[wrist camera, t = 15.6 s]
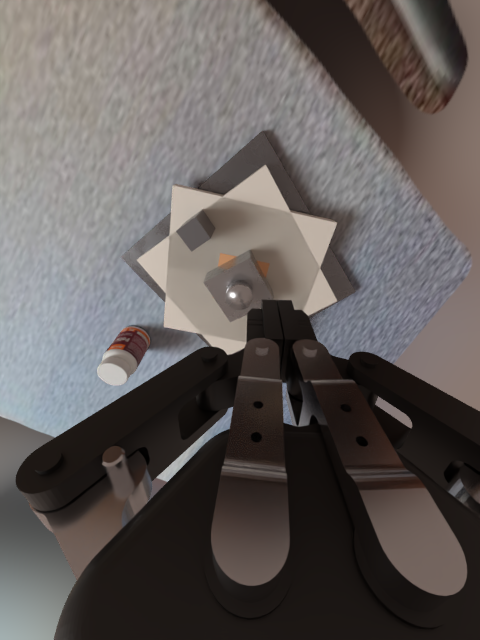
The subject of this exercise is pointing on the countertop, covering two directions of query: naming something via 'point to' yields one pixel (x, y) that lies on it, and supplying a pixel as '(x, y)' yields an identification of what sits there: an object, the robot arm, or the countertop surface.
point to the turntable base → (223, 182)
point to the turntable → (237, 254)
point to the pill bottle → (123, 355)
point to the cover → (238, 286)
